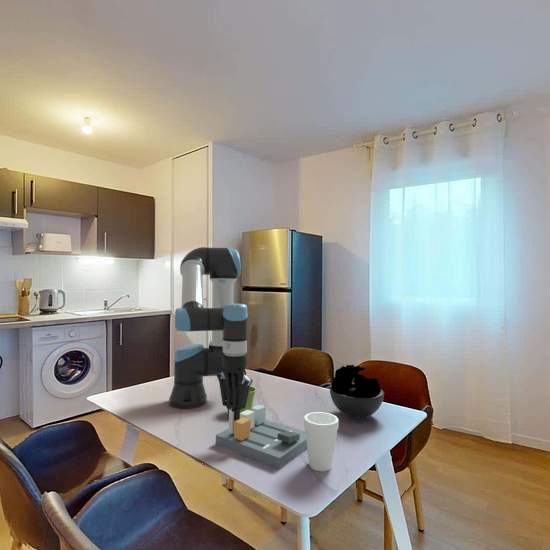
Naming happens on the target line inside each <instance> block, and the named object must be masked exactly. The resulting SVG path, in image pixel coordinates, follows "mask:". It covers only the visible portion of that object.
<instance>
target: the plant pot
mask: <svg viewBox="0 0 550 550" xmlns="http://www.w3.org/2000/svg"><path fill="white" fill-rule="evenodd" d="M241 388H242V387H241ZM256 391H257V388H256V387H255V386H251V385H250V388H249V393H248V397H247V402H246V407H245V408H243V409H241V410H240V413H241V412H243V411H246V410H250V411H251V408H252V407H254V406H253V405H254V404H253V403H254V398H255V395H256Z"/></svg>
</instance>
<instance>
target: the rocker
mask: <svg viewBox="0 0 550 550" xmlns="http://www.w3.org/2000/svg"><path fill="white" fill-rule="evenodd" d="M299 437H300V434H297V433H294V432H290V431H286V432H282V433H278V436H277V439H278V440H281V441H284V442H287V443H290V442H294V441H297V440H299Z"/></svg>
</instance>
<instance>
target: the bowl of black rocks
mask: <svg viewBox="0 0 550 550" xmlns="http://www.w3.org/2000/svg"><path fill="white" fill-rule="evenodd" d="M365 370H366V367H361V366H360V365H356V366H355V364H346V365H345V366H344V365H342V366H340V368H338V369H336V370H335V373H334V377H333V379H332V382H331V386H330V388H329V394H330V398H331V401H332V402H333V404H334V406H335V407H336V409H337V410H338V411H340V413H342V414H343V415H345V416H347V417H349V418H352V419H366V418H368V417H370V416H372V415H374V414H375V413H376V412H377V411H378V410H379V409H380V407H381V406H382V403H383V401H384V398H385V397H384V396H385V392H384V390H382V389H381V386H380V383H379V381H378V378H367V377H366V376H365V375H363V374H360V372H362V371H365Z"/></svg>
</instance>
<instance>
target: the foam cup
mask: <svg viewBox="0 0 550 550" xmlns="http://www.w3.org/2000/svg"><path fill="white" fill-rule="evenodd" d="M303 426H304V431H305V433H306V442H307V449H306V450H307V457H308V458H307V459H308V465H309V467H310V469H312V470H314V471H318V472H327V471H330V470H332V467H333V463H334V458H335V457H334V456H335V449H336V442H337V435H338V430H339V418H338V417H337V415H334V414H333V413H330V412H321V411H314V412H309V413H307V414H306V413H305V415H304V416H303Z"/></svg>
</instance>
